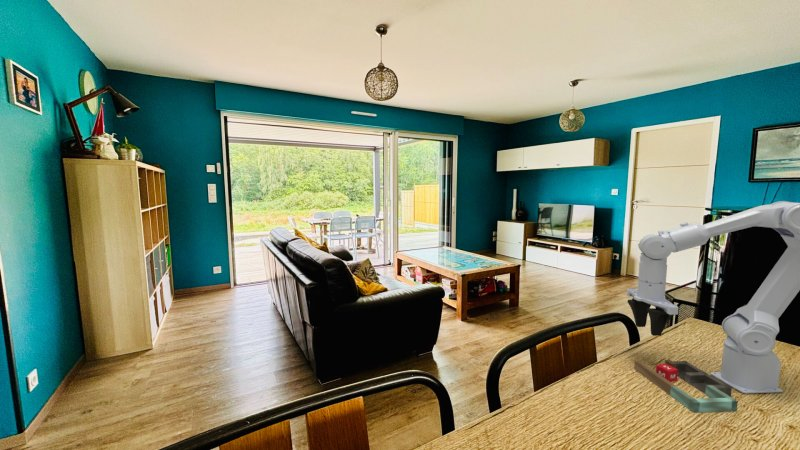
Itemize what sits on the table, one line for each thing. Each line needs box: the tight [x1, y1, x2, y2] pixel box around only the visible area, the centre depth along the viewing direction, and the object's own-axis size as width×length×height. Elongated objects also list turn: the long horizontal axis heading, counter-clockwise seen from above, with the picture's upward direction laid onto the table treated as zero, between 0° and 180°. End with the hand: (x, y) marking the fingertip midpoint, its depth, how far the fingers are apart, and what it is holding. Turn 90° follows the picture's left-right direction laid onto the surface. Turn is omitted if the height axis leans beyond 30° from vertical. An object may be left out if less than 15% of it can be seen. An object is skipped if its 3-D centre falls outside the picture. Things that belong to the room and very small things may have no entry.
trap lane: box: [633, 359, 738, 413], centre depth 77 cm, size 13×17×2 cm
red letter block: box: [655, 362, 678, 383], centre depth 80 cm, size 3×3×3 cm
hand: (648, 330), depth 86 cm, fingers open, 5 cm apart
